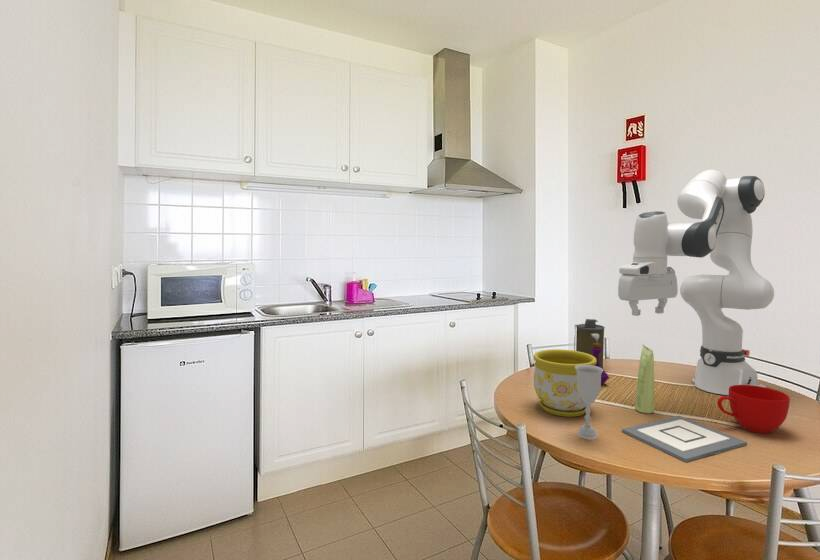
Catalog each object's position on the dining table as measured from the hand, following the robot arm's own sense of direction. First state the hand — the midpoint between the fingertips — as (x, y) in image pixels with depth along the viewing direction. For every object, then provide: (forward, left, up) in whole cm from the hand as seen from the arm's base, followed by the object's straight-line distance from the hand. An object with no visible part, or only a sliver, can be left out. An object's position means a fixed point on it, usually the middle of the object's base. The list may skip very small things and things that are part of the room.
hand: (647, 314), depth 130 cm
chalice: (+28, +6, -30) cm, 41 cm away
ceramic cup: (-15, +20, -30) cm, 39 cm away
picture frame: (+7, +17, -29) cm, 35 cm away
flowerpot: (+21, -11, -30) cm, 38 cm away
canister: (-17, -40, -30) cm, 52 cm away
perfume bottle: (-6, -26, -30) cm, 40 cm away
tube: (0, 0, -30) cm, 30 cm away
